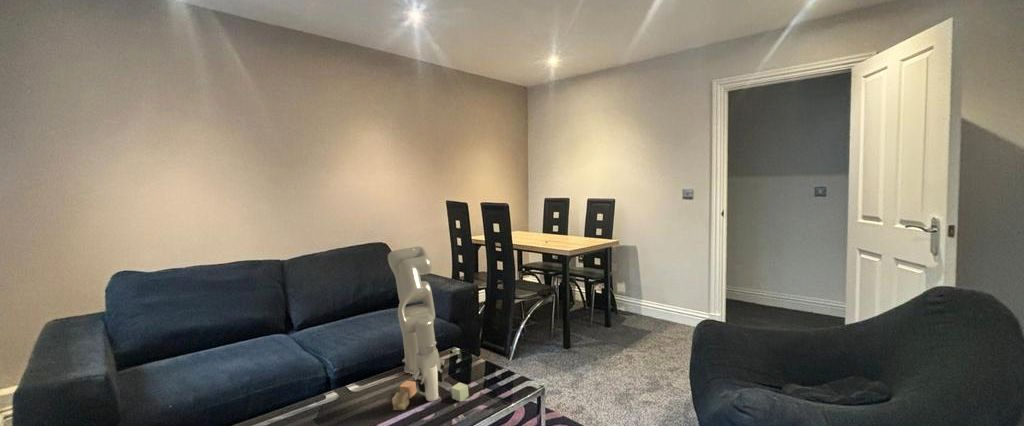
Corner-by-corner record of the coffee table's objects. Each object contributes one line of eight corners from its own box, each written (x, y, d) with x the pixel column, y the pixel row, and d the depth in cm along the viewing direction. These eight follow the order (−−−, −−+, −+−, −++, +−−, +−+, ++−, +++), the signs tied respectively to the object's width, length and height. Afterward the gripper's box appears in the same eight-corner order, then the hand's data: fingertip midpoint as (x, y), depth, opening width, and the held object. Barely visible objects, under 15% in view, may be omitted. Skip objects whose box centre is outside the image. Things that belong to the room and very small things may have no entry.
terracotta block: (400, 396, 198) (399, 386, 197) (407, 390, 203) (406, 380, 202) (410, 398, 196) (408, 387, 195) (416, 392, 201) (415, 381, 200)
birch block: (393, 410, 188) (392, 398, 187) (398, 403, 193) (396, 392, 192) (405, 410, 187) (403, 398, 187) (409, 403, 192) (408, 392, 191)
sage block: (452, 398, 193) (451, 387, 192) (460, 393, 197) (459, 382, 196) (460, 401, 190) (459, 390, 189) (468, 396, 194) (467, 385, 193)
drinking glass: (425, 395, 197) (421, 362, 195) (440, 393, 198) (437, 361, 196) (423, 403, 191) (419, 370, 189) (439, 401, 191) (436, 368, 189)
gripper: (435, 339, 200) (440, 375, 202) (404, 354, 187) (409, 393, 189) (447, 342, 196) (451, 379, 198) (416, 358, 182) (421, 398, 184)
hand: (431, 386), depth 193 cm, fingers open, 9 cm apart
